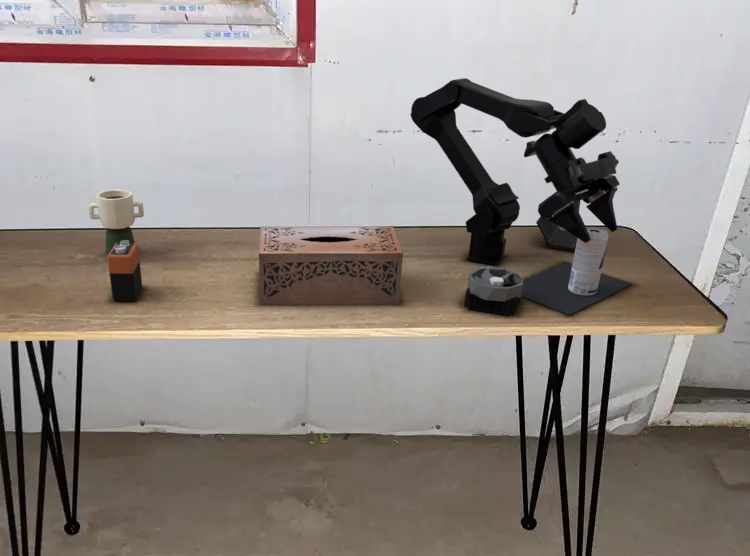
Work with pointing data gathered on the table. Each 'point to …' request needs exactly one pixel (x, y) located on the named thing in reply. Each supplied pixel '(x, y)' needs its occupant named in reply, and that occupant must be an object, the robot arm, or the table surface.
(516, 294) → the cpu cooler
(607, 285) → the mouse pad
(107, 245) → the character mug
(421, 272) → the table surface
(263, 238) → the tissue box cover
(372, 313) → the table surface
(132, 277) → the battery
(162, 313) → the table surface
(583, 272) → the energy drink
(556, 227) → the handheld gaming console
